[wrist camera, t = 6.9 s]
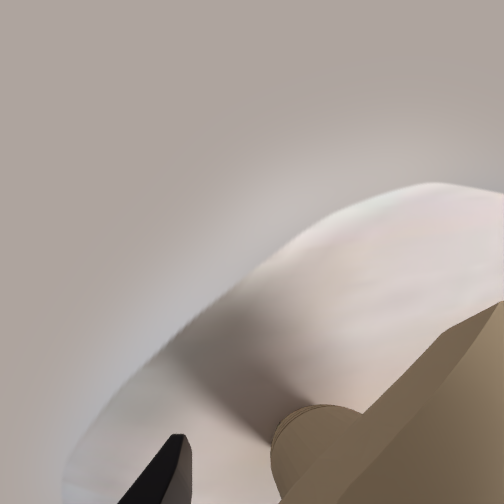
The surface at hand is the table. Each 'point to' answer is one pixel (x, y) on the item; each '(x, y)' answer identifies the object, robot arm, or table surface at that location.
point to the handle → (408, 431)
